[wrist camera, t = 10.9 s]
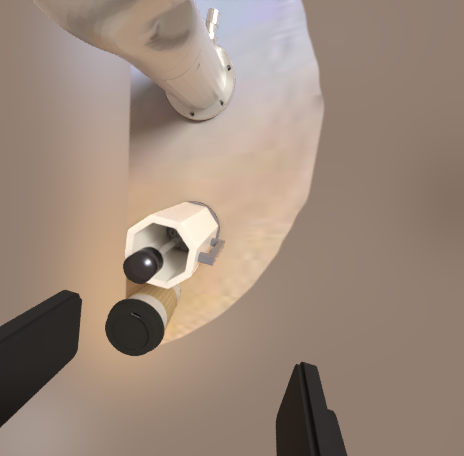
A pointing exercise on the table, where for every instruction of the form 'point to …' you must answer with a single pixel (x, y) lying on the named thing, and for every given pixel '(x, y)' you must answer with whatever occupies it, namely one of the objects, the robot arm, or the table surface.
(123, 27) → the robot arm
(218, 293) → the table surface
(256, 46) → the table surface
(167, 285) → the coffee press
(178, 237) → the plunger
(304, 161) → the table surface
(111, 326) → the coffee cup
